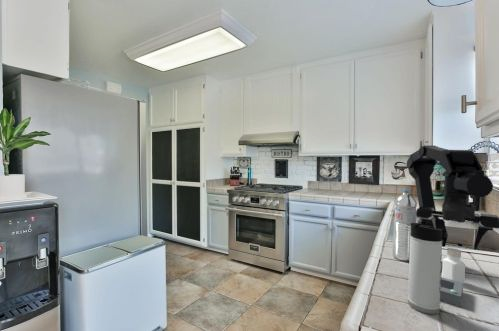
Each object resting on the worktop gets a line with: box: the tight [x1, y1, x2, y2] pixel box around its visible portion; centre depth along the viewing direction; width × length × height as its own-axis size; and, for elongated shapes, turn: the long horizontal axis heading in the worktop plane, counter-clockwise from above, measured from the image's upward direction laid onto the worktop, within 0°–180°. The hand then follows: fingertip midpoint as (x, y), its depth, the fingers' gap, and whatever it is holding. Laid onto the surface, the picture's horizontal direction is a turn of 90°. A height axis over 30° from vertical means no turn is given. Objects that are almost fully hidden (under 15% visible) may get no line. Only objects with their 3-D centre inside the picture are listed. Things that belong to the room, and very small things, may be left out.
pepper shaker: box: [441, 247, 466, 285], centre depth 75 cm, size 4×4×10 cm
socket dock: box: [440, 276, 464, 308], centre depth 68 cm, size 10×9×3 cm
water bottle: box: [392, 189, 418, 262], centre depth 93 cm, size 7×7×25 cm
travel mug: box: [407, 222, 443, 315], centre depth 61 cm, size 6×7×20 cm
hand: (454, 245), depth 75 cm, fingers open, 9 cm apart
